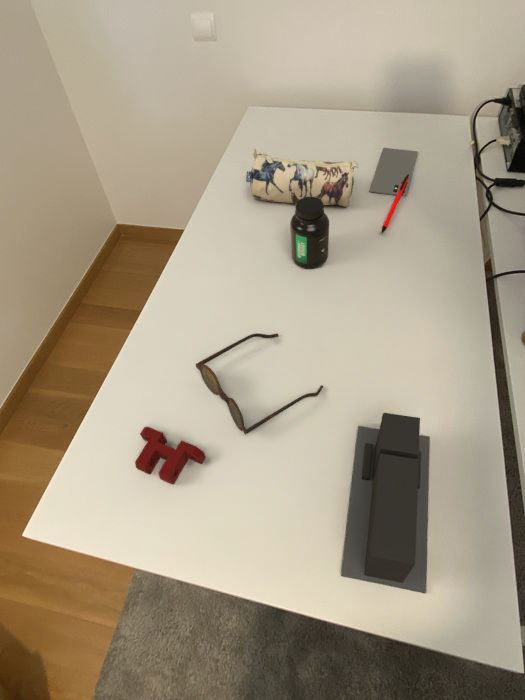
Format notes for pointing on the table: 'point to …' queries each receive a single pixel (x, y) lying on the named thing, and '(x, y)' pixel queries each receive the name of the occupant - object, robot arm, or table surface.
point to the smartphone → (393, 171)
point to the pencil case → (301, 180)
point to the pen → (394, 204)
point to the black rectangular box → (398, 437)
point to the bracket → (166, 455)
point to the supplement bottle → (309, 233)
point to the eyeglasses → (234, 410)
